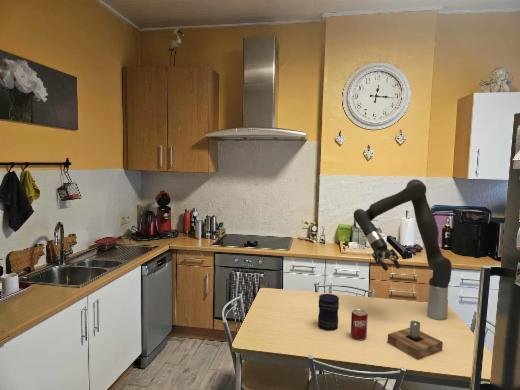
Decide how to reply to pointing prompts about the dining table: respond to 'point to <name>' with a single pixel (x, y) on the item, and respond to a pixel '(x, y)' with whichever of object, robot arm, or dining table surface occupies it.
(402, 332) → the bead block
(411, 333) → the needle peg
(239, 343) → the dining table surface
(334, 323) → the storage jar
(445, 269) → the robot arm
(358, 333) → the soda can
